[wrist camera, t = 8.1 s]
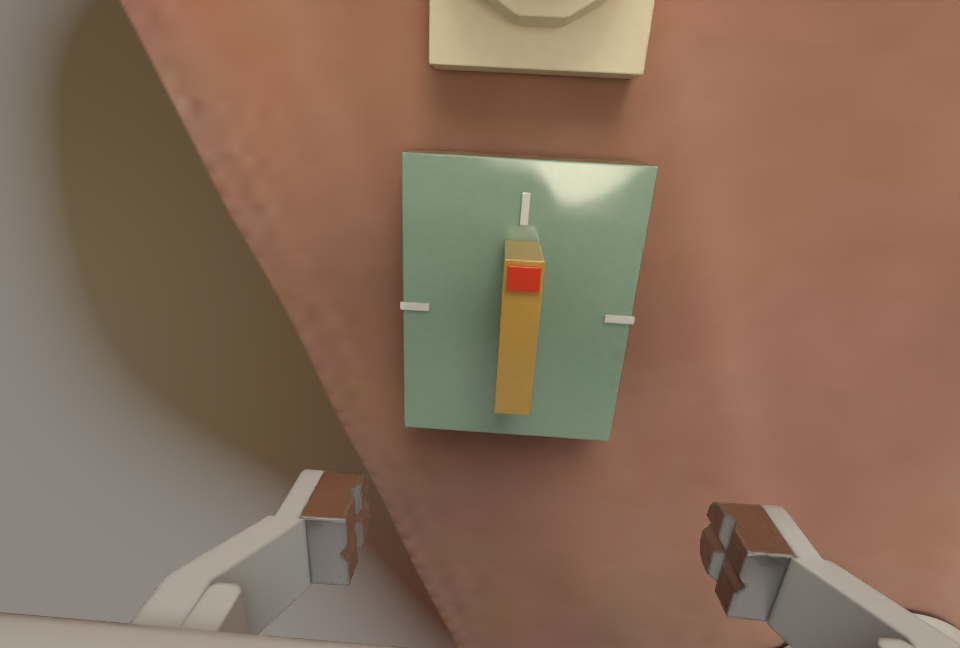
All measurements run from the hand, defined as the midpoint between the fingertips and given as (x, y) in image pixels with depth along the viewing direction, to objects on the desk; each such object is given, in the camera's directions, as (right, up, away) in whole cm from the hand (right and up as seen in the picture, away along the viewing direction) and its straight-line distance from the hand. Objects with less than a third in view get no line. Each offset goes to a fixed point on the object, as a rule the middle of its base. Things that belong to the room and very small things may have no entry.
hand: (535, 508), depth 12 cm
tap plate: (+1, +6, +15) cm, 16 cm away
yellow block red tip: (0, +5, +12) cm, 13 cm away
